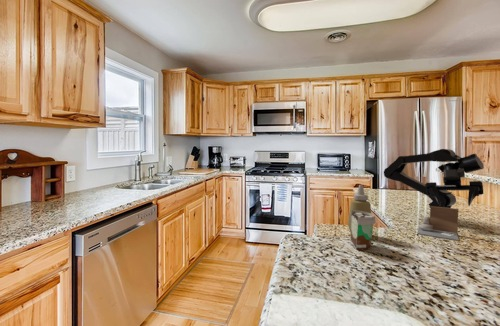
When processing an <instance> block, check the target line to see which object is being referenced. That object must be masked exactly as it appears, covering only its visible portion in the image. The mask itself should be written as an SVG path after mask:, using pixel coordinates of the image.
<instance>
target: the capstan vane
mask: <svg viewBox="0 0 500 326" xmlns="http://www.w3.org/2000/svg"><path fill="white" fill-rule="evenodd" d="M419 224H420V225H419V226H420V229H423V230H429V231H432V230H438V231H445V232H452V233H457V234H458V228H459V227H458V225H459V209H458V208H452V207H451V208H444V207H434V206H429V217H427V216H424V217H423V222H420V223H419Z"/></svg>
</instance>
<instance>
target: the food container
mask: <svg viewBox="0 0 500 326" xmlns="http://www.w3.org/2000/svg"><path fill="white" fill-rule="evenodd" d="M375 224H376V217H375V215H374V214H373V213H372V212H371V213H367V212H363V211H356V210H351V233H350V242H351V243H352V245H353V247H354V249H355V250H356V251H367V250H371V246H372V238H373V237H372V236H373V229H374V225H375Z"/></svg>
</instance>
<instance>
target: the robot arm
mask: <svg viewBox="0 0 500 326" xmlns="http://www.w3.org/2000/svg"><path fill="white" fill-rule="evenodd" d="M424 162H426V163H427V162H436V163H437V162H440V163H443V164H441V165H439V166H438V167H437V169H439V171H441V173H442V174H443V177H442V183H443V184H439V185H438V184H437V182H435V181H434V182H433V181H432V182H426V183H424V182H421V181H419V180H417V179H415V178H413V177H411V176H409V175H407V174H406V173H405V172H404V169H405V168H406V165H407V164H413V163H424ZM444 163H445V164H444ZM484 168H485V167H484V163H483V161H482V160H481V158H480V157H479V156H478V155H477V154H476V153H472V154H471V153H470V155H467V156H463V157H461V156H459V155H457V154H456V152H455V151H454V150H453V149H449V148H441V149H436V150H433V151H431V152H427V153H420V154H419V153H418V154H411V155H400V156H398V157H397V158H396V159H395V160H394V161H393V162H392V163H390V164H389V165H388V166H387V167H386V168H385V169H384V170H383V176H384V178H385V179H388V180H391V181H394V182H395V181H396V182H400V183H402V184H404V185H406V186H407V187H409V188H412V189H414V190H415V191H417V192H419V193H421V194H423V195H425V196H427V197H428V198H429V199H430V200H431V202H429V204H428V205H429V207H430V206H434V207H444V208H452V206H453V205H455V204H456V202H457V198H456V196H455V194H453V192H452V191H456V192H457V191H468V194H467V196H468V197H467V205H468V207H470V206H471V204H472V202H473V201H474V199H476V197H479V196H481V195H483V194H484V185H483V181H481V180H472V181H470V180H469V184H462V178H465V177H466V176H465V173H466V174H468V173H473V172H476V171H480V170H483V169H484Z"/></svg>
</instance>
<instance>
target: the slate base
mask: <svg viewBox="0 0 500 326" xmlns="http://www.w3.org/2000/svg"><path fill="white" fill-rule="evenodd" d="M417 235H419V236H420V235H422V236H425V237H426V236H427V237H432V238H439V239H445V240H451V241H457V242H459V240H460V239H459V237H458V232H457V233H452V232H445V231H438V230H432V231H429V230H423V229H420V225H419V226H418V230H417Z"/></svg>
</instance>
